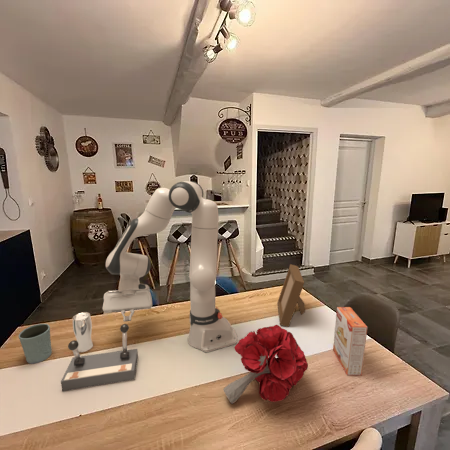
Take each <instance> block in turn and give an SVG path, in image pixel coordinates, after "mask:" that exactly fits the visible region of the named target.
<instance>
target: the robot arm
mask: <svg viewBox="0 0 450 450" xmlns="http://www.w3.org/2000/svg"><path fill="white" fill-rule="evenodd" d="M176 209H178V210H182V211H183V212H186V213H189V214H191V217H192V219H191V238H190V253H189V254H190V257H189V260H190V261H189V271H188V272H189V277H188V278H189V281H190V282H189V283H190V285H189V286H190V287H189V293H190V294H189V296H190V298H189V299H190V303H189V304H190V309H189V325H190V326H189V333H188V337H187V342H188V344H189V345H190V346H191V347H192V348H195V349H198V350H200V351H202V352H203V353H209V352H210V353H211V352H213V351H217V350H220V349H223V348H226V347H230V346H234V345H236V344H237V343H238V335H237V332H236V330H235V329H234V327H232V324H231V323H230V321H229V320H228V318H227V317H224V316H223V315H222V313H221V311H220V309H219V308H218V307H217V306H216V280H217V271H218V270H217V267H218V263H217V262H218V238H219V237H218V236H219V223H220V222H219V208H218V204H217V203H216V202H215V201H214V200H211V199H207V198H204V189H203V188H202V186H201V185H200V184H199V183H198V182H195V181H190V180H184V181H179V182H176V183H174V184H173V185H172V186H171V188H167V187H158V188H157V189H155V191H154V192H153V193H152V195H151V197H150V198H149V200H148V202H147V205H146V206H145V210H144V211H143V212H142V213H141V215H140V216H139V217H137V218H133V219H132V220H131V221H130V222H129V224H128V225H127V227H126V228H125V230H124V231H123V233H122V235H121V236H120V238H119V240H117V242H116V245H115V246H114V248H113V249H112V250H111V251H110V253H109V254H108V256H107V258H106V259H105V269H106V270H107V271H108V272H109V273H110V275H119V276H120V279H119V283H118V289H115V290H108V291H106V292H105V293H104V294H103V304H102V311H103V312H104V313H105V314H108V313H119V312H121V315H122V317H123V322H131V321H132V317H133V315H134V313H135V311H139V310H149V309H150V310H151V309H152V307H153V299H152V294H151V292H150V291H151V290H150V286H149V285H148V284H146V283H142V282H141V283H140V278H143V277H144V276H146V275H148V274H149V273H150V271H151V266H152V265H151V264H152V263H151V260H150V258H149V257H148V255H145V254H142V253H141V254H140V253H132V252H127V250H128V249H129V247H130V246H131V244H132V242H133V241H134V240H135V239H136V238H138V237H141V236H145V235H154V234H159V233H160V232H161V233H162V232H163V231H165V229H166V228H167V227H168V226H169V223H170V222H171V218H172V216H173V214H174V211H175V210H176ZM126 312H130V313H129V315H127V316H126V315H125V314H126Z"/></svg>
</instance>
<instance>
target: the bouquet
mask: <svg viewBox="0 0 450 450" xmlns="http://www.w3.org/2000/svg"><path fill="white" fill-rule="evenodd" d="M233 348H234V351H235V352H236V353H237V355H239V356H241V358H240V362H241V363H242V364H241V365H242V366H243V367H244V370H246V371H248V373H246V375H244V376H242V377H240V378H238V379H235V380H234V381H232V382H230V383H228V384H226V386H225V387H224V388H223V392H224V394H225V396H226V397H227V399H228V401H229V403H231V404H232V405H233V404H234V403H235V402H237V401H238V399H239V398H240V397H242V395H243V393H244V392H245V391H246V389H247V387H248V386H249V385H250V384H251V383H252V381H254V380H256V381H257V383H259V387H258V394H259V396H260V398H261V399H262V400H264V401H269V402H272V403H277V402H280V401H283V400H285V399H286V398H287V397H288V396H289V395H290V391H291V389H292V388H293V386H297V384H298V383H299V382H300V381H301V380H302V379H303V377H304V375H305V372H306V371H307V370H308V369H309V368H308V367H309V363H308V361H307V358H306V355H305V352H304V351H303V349H302V348H301V347H300V345H299V344H298V341H297V339H296V338H295V337H294V334H293V333H292V332H291V331H288V330H286V329H284V328H282V326H281V325H280V324H274V325H272V326H271V325H270V326H264V327H261V328H258V329H257V330H256V331H255V330H253V331H250V332H248V333H247V334H246V335H245V336H244V337H243V338H241V339H239V340H238V341H237V343H236V344H235V346H234V347H233Z"/></svg>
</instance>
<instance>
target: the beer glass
mask: <svg viewBox="0 0 450 450" xmlns="http://www.w3.org/2000/svg"><path fill="white" fill-rule="evenodd" d="M92 327H93V323H92V317H91V313H90V312H87V311H83V312H79V313H76V314H75V315H73V317H72V329H73V333H74V336H75V339H76V341H77V342H78V343H79V345H78V351H79V353H85V352H88V351H90V350H91V349H92V348H93V347H94V344H93V340H92V329H93V328H92Z"/></svg>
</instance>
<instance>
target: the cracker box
mask: <svg viewBox="0 0 450 450" xmlns="http://www.w3.org/2000/svg"><path fill="white" fill-rule="evenodd" d="M368 328H369V327H368V326H367V325H366V323H364V322H363V320H362V319H361V318H360V317H359V315H358V314H357V313H356V312H355V311H354V310H353V308H352V307H350V306H337V307H336V314H335V325H334V334H333V335H334V336H333V343H332V345H333V347H332V351H333V353H334V354H335V357H336V359H337V360H338V361H339V364H340V365H341V367H342V369H343V370H344V372H345V374H346V375H347V376H362V375H363V367H364V366H363V365H364V358H365V352H366V343H367V342H366V341H367V335H368Z"/></svg>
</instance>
